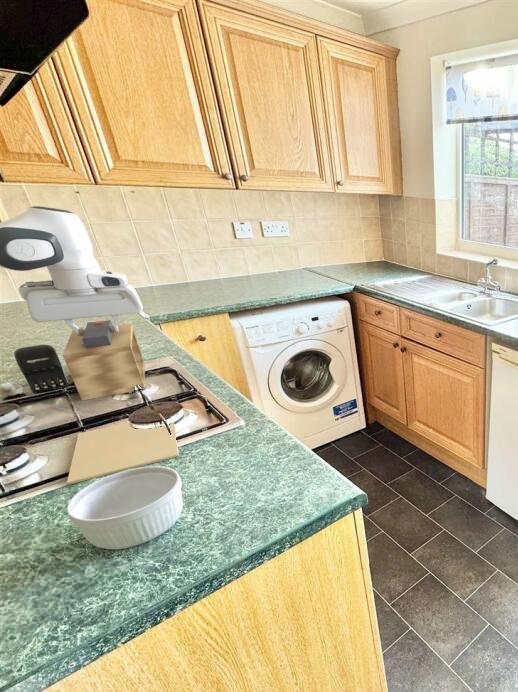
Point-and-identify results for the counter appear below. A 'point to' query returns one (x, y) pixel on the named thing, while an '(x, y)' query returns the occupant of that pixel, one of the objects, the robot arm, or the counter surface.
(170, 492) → the ramekin
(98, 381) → the wooden crate
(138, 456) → the mat
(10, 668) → the counter surface
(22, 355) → the battery charger
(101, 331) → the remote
